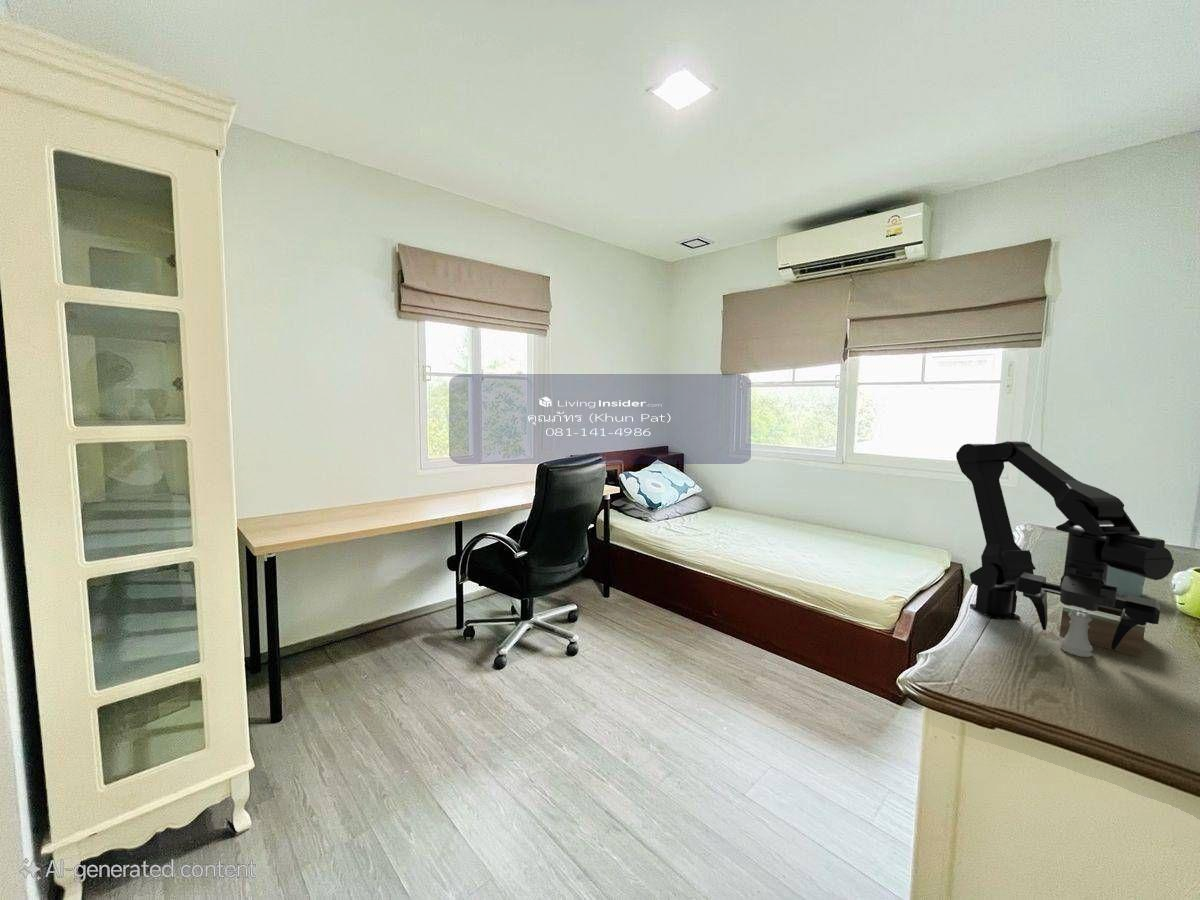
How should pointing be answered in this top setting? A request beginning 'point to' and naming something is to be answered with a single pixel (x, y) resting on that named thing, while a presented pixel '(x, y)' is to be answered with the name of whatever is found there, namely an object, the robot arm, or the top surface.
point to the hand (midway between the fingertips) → (1077, 638)
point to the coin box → (1106, 629)
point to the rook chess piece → (1078, 635)
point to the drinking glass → (1125, 582)
